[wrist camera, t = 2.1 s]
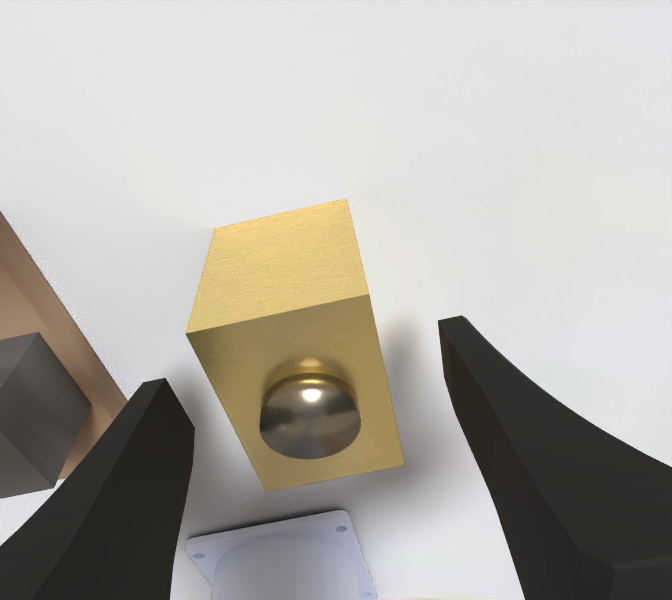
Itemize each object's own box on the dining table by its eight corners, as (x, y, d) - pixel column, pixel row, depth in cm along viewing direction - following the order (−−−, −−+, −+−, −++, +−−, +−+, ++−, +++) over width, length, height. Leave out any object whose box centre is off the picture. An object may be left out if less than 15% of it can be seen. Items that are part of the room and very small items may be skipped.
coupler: (378, 348, 18) (408, 484, 13) (271, 370, 18) (265, 512, 13) (346, 197, 14) (373, 310, 10) (214, 227, 15) (180, 352, 10)
